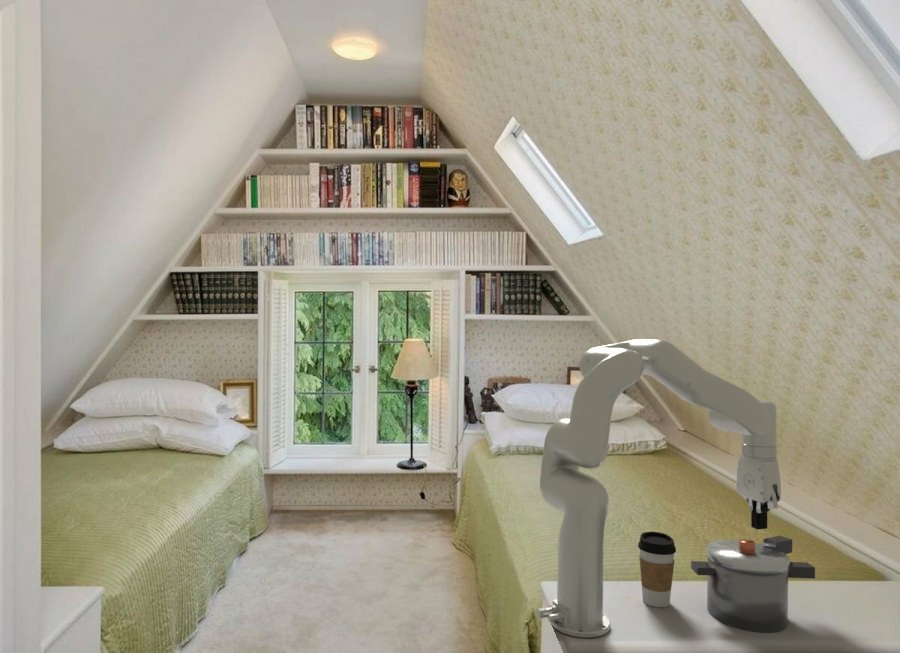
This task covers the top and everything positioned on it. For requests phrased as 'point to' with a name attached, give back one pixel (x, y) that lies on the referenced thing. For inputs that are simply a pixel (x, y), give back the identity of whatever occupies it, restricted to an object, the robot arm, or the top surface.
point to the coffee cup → (656, 567)
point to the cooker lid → (752, 555)
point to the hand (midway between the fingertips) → (759, 527)
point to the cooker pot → (750, 595)
